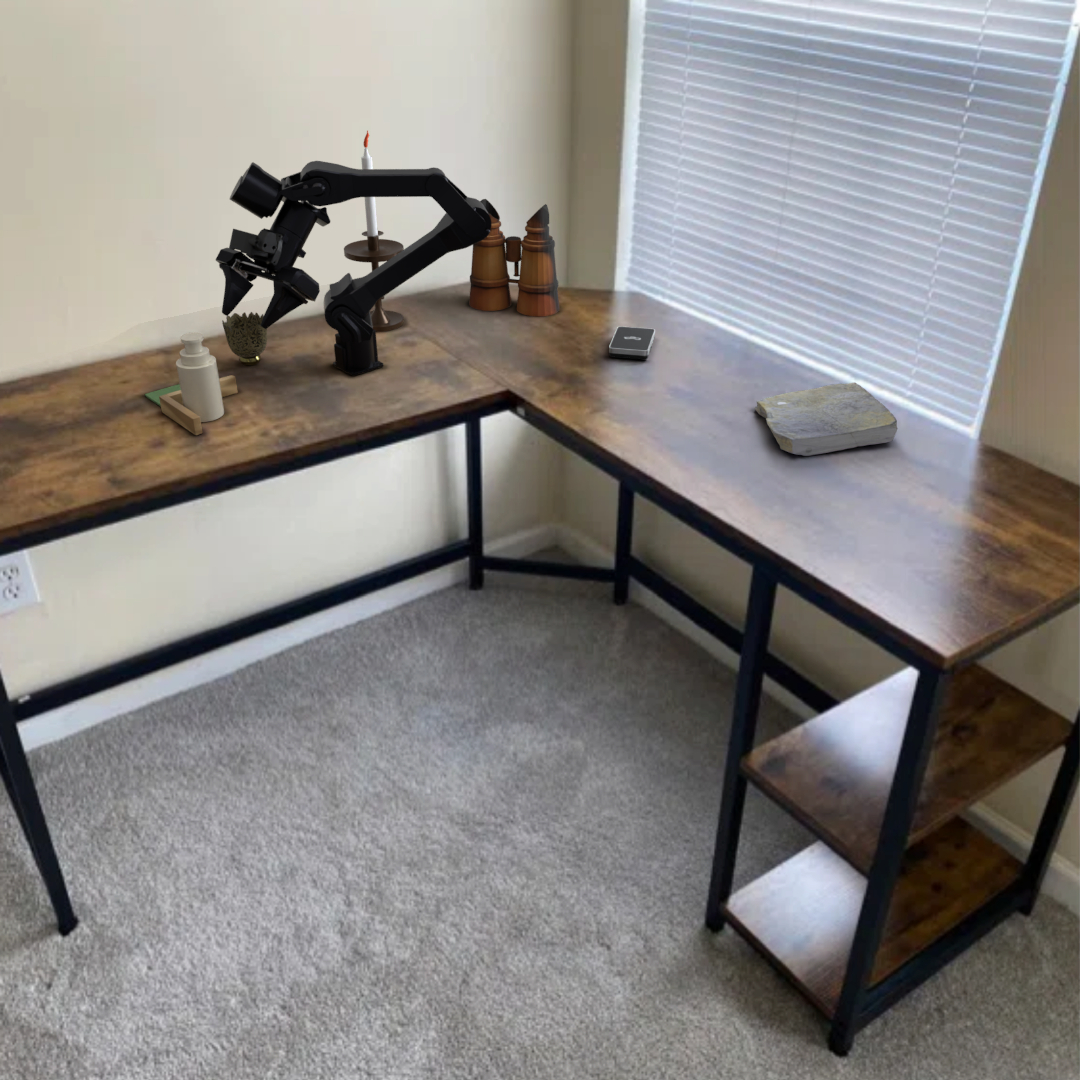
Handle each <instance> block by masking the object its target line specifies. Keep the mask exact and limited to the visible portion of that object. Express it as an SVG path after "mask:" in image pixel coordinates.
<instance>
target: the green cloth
mask: <svg viewBox="0 0 1080 1080" xmlns="http://www.w3.org/2000/svg"><path fill="white" fill-rule="evenodd" d="M179 390H180V384H179V383H178V384H174V385H171V386H168V387H164V388H161V389H157V390H154V391H150V392H147V393H144V397H146V398H147V399H148V400H149V401H151V402H153V403H154V404H156V405H157V406H159V407H160V408H161V404H160V399H159V396H162V395H165V394H168V393H172V392H175V391H179Z"/></svg>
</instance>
